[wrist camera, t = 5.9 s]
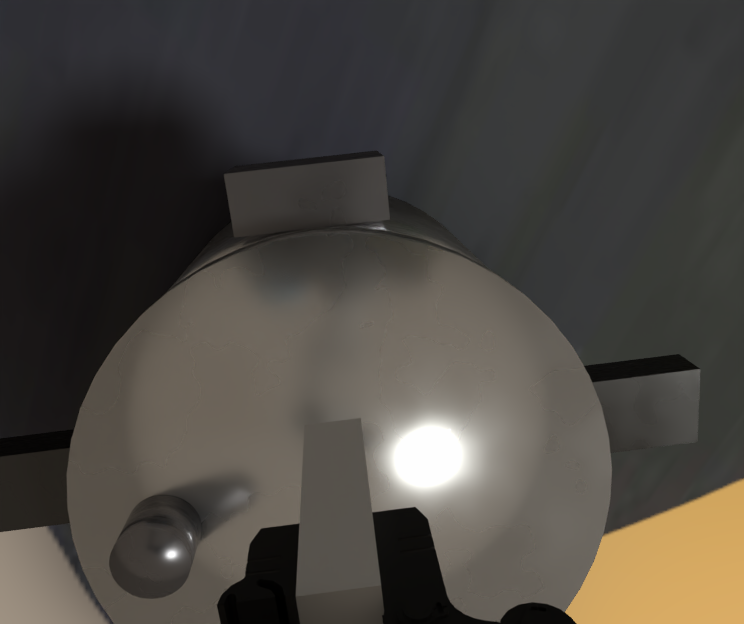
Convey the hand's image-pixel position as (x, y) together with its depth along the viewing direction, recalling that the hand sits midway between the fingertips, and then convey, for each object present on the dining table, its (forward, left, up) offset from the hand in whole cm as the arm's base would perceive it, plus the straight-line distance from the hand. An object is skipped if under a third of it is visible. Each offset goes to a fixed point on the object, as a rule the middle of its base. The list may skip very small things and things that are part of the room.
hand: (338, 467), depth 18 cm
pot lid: (+5, 0, -5) cm, 7 cm away
